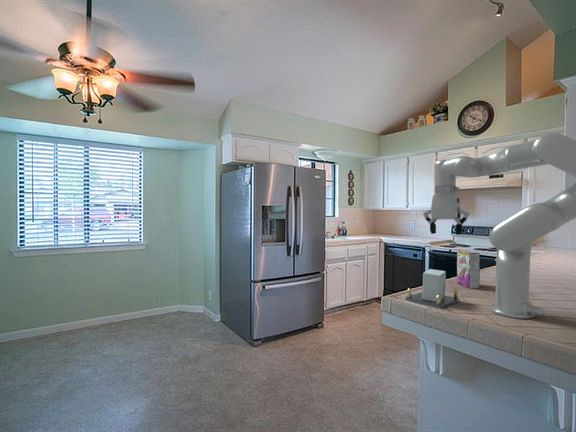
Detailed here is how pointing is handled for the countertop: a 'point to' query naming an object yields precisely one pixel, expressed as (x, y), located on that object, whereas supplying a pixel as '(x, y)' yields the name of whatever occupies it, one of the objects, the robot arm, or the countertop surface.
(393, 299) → the countertop surface
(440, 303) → the chassis
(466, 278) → the candy bar box
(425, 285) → the skincare box
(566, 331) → the countertop surface
